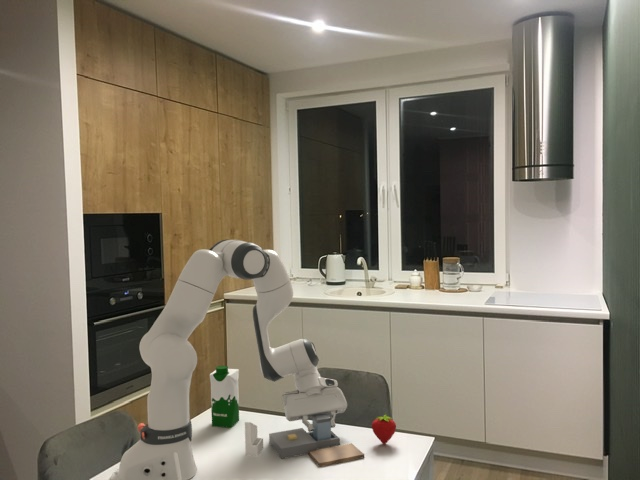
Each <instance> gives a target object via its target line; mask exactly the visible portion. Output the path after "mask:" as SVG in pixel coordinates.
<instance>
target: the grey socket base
mask: <svg viewBox="0 0 640 480" xmlns="http://www.w3.org/2000/svg"><path fill="white" fill-rule="evenodd" d="M268 435H269V436H268V442H269V445H270V446H271V448H273V450H274V451H275V453H276V454H277V455H278V457H279V458H280V459H281V460H283V459H288V458H292V457H298V456H303V455H307V454H308V455H309V451H314V450H319V449H324V448H329V447H334V446H340V445H341V444H340V443H341V441H340V440H341V439H340V437H339V436H337V434H335V433H334V432H333V431H332V430H331V439H326V440H320V441H315V440H314V439H313V431H311V432H309V431H308V432H307V431H306V430H305V429H304V428H303V427H299V428H293V429H289V430H282V431H276V432H271V433H268Z"/></svg>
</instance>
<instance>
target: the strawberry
mask: <svg viewBox="0 0 640 480" xmlns="http://www.w3.org/2000/svg"><path fill="white" fill-rule="evenodd" d="M396 429H397V423H396V422H395V421H394V419H393V418H392V417H391V416H387V414H386V413H384V415H382V416H377V417H375V419H373V421H372V423H371V430H372V432H373V434H374V435H375V436H376V437H377V439H378V440H379V441H380V442H381V444H383V445H385V444H387V443H388V442H389V441H390V440H391V439H392V437H393V436H394V434H395V433H396Z"/></svg>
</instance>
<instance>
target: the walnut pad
mask: <svg viewBox="0 0 640 480" xmlns="http://www.w3.org/2000/svg"><path fill="white" fill-rule="evenodd" d="M308 457H310V458H311V459H312V460H313V462H314V463H315V464H316V465H317V466H318V467H325V466H326V467H327V466H330V465H335V464H339V463H345V462H350V461H354V460H359V459H363V458H365V453H363V451H361V450H360V448H358V447H356V446H355V445H354V444H353V443H352V442H350V443H347V444H346V443H344V444H340V445H336V446H331V447H326V448H320V449H317V450H314V451H309V454H308Z"/></svg>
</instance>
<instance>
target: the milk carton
mask: <svg viewBox="0 0 640 480" xmlns="http://www.w3.org/2000/svg"><path fill="white" fill-rule="evenodd" d="M239 374H240V369H238V368H229V366H227V365H219V366H216V367H215V370H214V371H213V372H210V374H209V380H210V402H211V403H210V405H211V409H210V412H211V426H212V427H215V428H216V427H217V428H228V429H229V428H230V429H231V428H232V427H234V426H235V425H236V424H237V423H238V422H239V421H240V407H239V406H240V401H239V400H240V398H239V395H240V394H239V392H240V391H239V377H240V375H239Z"/></svg>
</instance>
